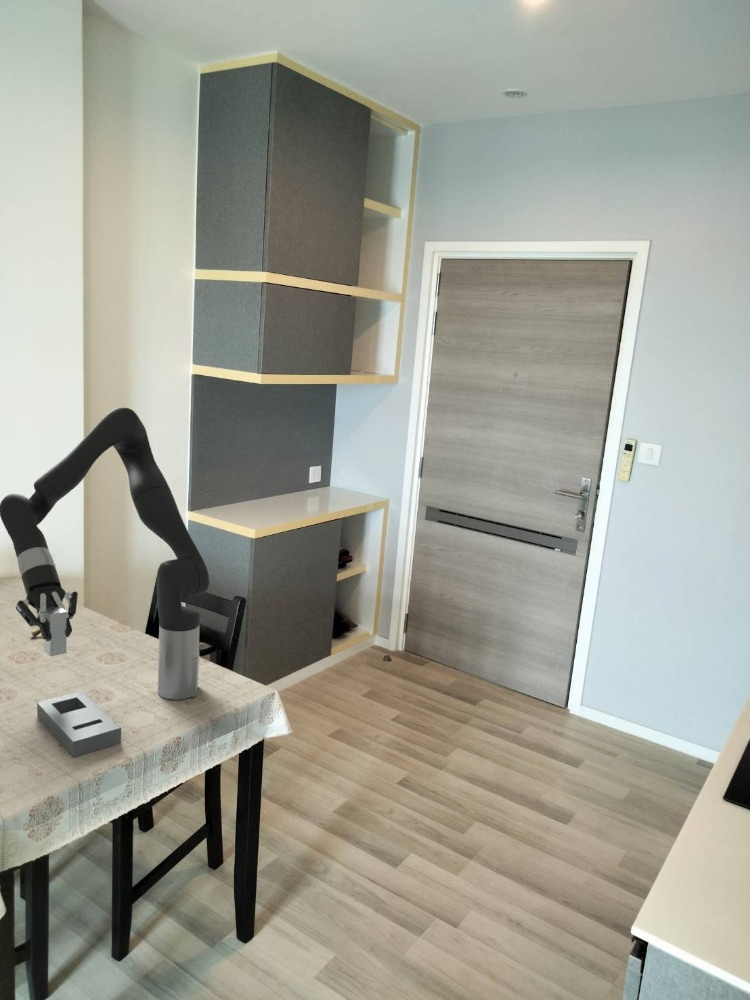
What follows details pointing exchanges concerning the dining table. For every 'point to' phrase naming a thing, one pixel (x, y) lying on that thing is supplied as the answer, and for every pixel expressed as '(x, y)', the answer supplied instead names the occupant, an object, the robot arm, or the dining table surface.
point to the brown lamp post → (36, 633)
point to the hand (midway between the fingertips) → (58, 637)
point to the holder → (78, 723)
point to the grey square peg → (56, 631)
